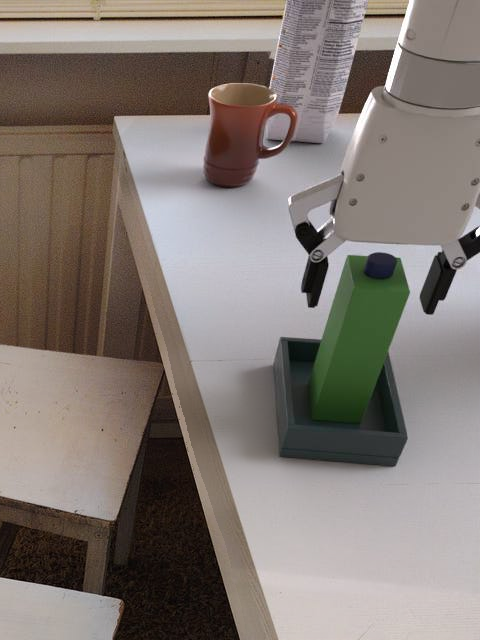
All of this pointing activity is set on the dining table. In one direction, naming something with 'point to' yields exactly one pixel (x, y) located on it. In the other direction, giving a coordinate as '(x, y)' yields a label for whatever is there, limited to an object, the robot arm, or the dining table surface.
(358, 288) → the green drink carton
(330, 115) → the juice carton
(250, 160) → the mug
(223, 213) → the dining table surface
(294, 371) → the dark grey tray
